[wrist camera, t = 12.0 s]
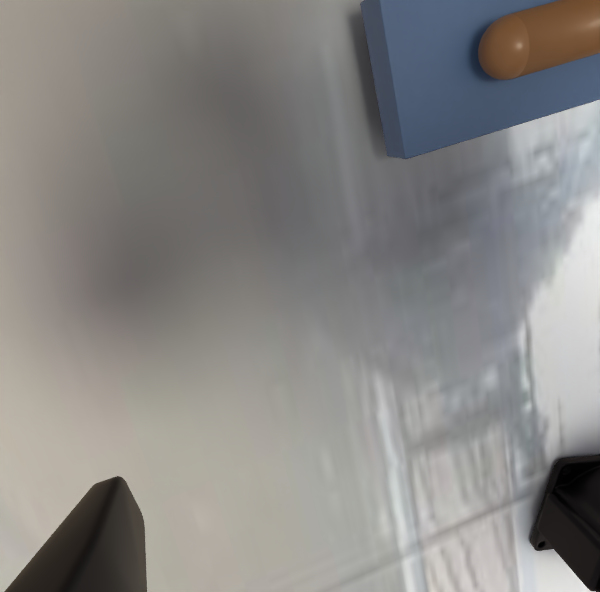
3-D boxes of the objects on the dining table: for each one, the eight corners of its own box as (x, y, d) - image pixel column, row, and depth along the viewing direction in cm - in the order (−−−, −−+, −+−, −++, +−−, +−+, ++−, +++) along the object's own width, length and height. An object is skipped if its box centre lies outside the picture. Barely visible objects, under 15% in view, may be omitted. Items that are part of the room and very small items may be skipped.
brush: (726, -89, 18) (897, -157, 14) (714, 50, 20) (860, 29, 16) (346, 12, 16) (403, -29, 12) (372, 154, 18) (431, 163, 14)
